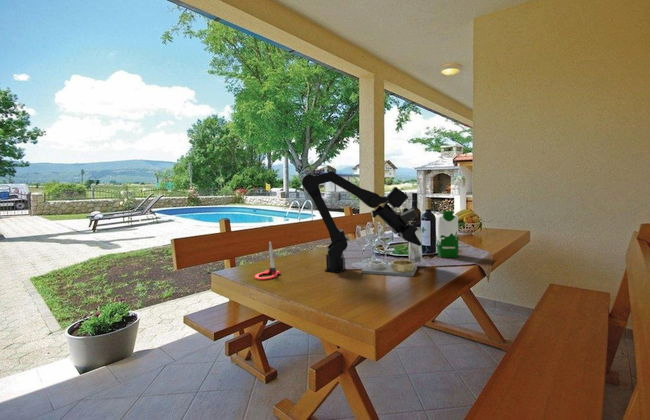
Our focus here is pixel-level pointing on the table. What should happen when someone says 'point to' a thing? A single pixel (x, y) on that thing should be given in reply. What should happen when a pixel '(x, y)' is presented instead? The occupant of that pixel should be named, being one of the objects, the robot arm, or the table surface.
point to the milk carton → (447, 234)
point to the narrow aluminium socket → (376, 265)
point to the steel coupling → (416, 248)
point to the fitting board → (387, 271)
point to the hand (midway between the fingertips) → (418, 243)
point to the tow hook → (271, 269)
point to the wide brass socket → (402, 266)
